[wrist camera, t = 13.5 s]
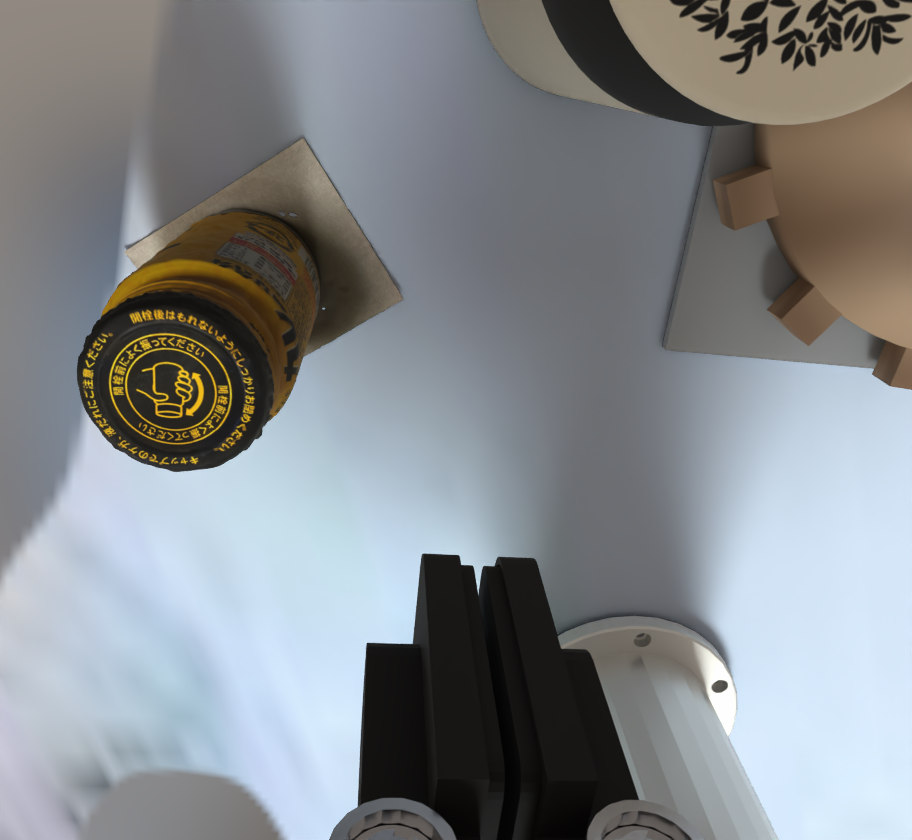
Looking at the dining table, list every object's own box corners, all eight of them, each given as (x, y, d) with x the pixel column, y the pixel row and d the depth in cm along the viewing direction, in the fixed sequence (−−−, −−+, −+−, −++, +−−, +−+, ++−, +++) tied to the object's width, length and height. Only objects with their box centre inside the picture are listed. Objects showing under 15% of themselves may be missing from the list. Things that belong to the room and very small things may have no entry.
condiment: (125, 250, 32) (-17, 351, 21) (303, 137, 30) (252, 180, 20) (236, 395, 35) (162, 550, 24) (403, 297, 33) (407, 412, 22)
